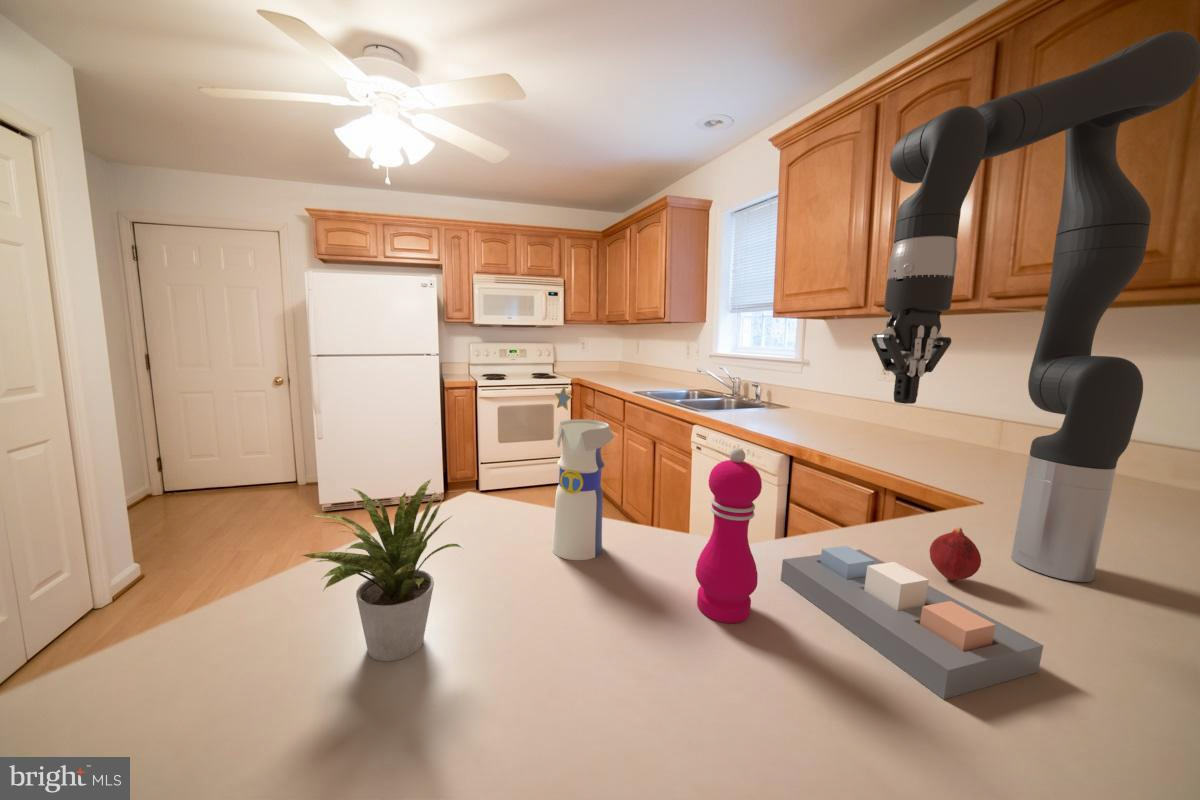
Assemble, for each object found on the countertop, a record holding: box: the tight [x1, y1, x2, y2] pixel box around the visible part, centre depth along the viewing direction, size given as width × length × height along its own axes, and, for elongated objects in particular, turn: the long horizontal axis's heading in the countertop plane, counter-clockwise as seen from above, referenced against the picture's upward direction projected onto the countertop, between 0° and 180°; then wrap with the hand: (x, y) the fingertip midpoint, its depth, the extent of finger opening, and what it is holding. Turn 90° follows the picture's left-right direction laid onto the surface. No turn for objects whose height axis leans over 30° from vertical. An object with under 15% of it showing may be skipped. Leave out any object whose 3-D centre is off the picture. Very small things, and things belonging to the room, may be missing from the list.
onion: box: [929, 526, 982, 582], centre depth 65 cm, size 6×6×8 cm
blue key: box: [820, 545, 874, 580], centre depth 61 cm, size 4×4×4 cm
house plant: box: [301, 479, 464, 662], centre depth 46 cm, size 14×14×16 cm
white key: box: [864, 561, 929, 611], centre depth 55 cm, size 4×4×4 cm
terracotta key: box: [920, 601, 995, 652], centre depth 48 cm, size 4×4×4 cm
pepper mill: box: [695, 447, 763, 624], centre depth 54 cm, size 7×7×20 cm
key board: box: [780, 549, 1044, 700], centre depth 55 cm, size 14×22×3 cm, turn 19°
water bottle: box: [551, 385, 615, 561], centre depth 67 cm, size 8×9×25 cm
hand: (904, 402), depth 64 cm, fingers closed
